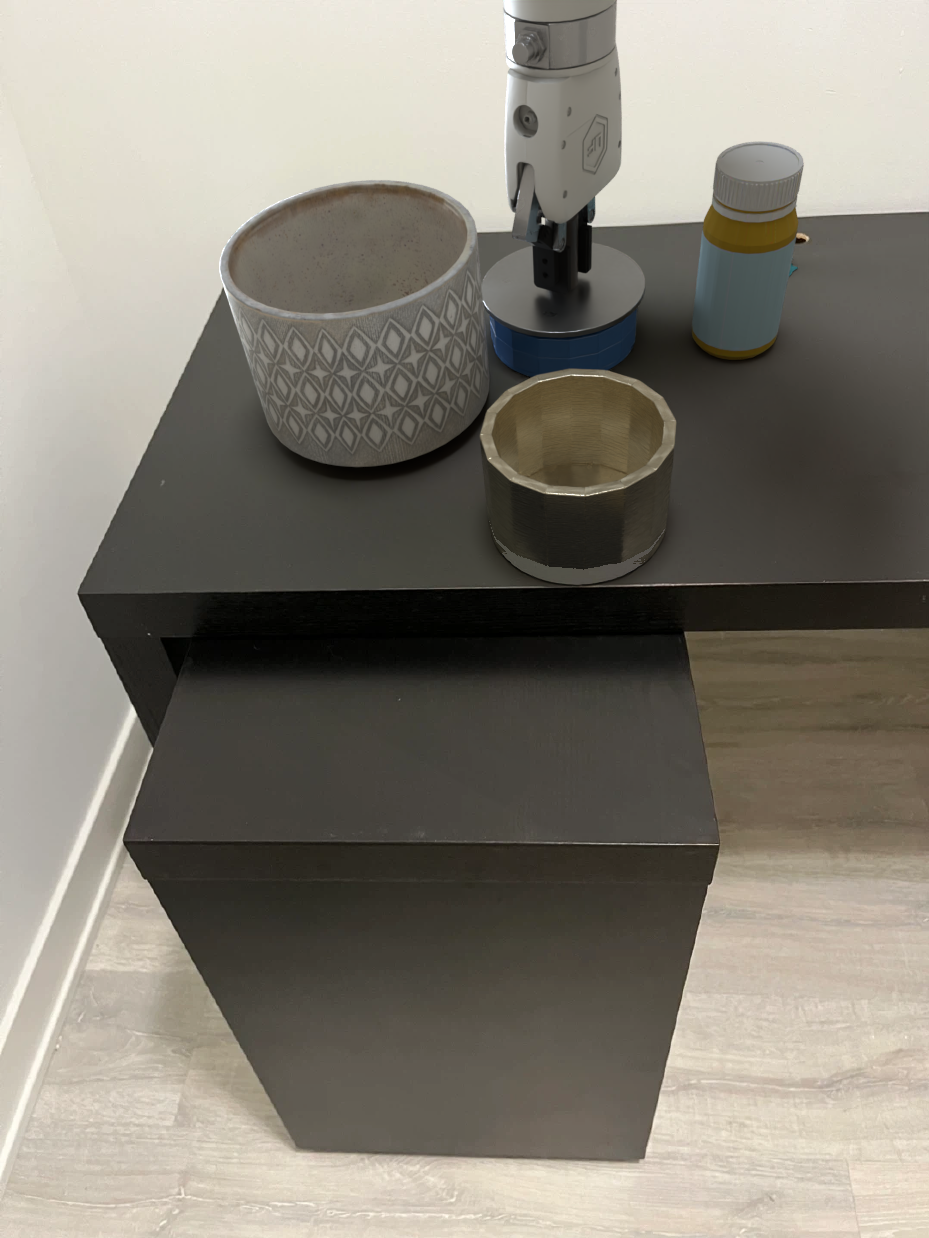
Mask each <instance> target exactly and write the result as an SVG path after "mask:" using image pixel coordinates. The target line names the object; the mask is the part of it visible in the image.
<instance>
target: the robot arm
mask: <svg viewBox="0 0 929 1238" xmlns="http://www.w3.org/2000/svg"><path fill="white" fill-rule="evenodd" d="M617 11H618V0H502V15H503V34H504V35H503V36H504V51H505V54H504V55H505V63H506V65H507V66H508V68H509V69H508V71H507V76H506V77H507V78H506V89H505V106H504V107H505V108H504V176H505V178H504V179H505V188H506V196H507V202H508V206H509V208H510V209H509V210H511V212H512V213H514V217H513V222H512V228H511V238H512V239H513V240H517V241H521V242H525V243H528V245H529V246H532V247H533V274H534V284H535V286H536V287H538V288H542V289H546V290H549V291H553V292H556V293H560V294H564V295H565V294H567V293H568V292H569V291H570V290H571V247H570V246H567V245H566V224H567V221H568V220H570V219H571V218H572V217H573V216H574V215H576V214H577V213H578V272H581V273H588V272H589V271H590V270H591V267H592V243H593V225H592V223H593V222H594V220H595V218H596V196H597V195H598V194H599V193H601V191H603V189H604V188H606V187H607V186H608V184H609V183H610V182H612V180H613V179H614V178H615V177H616V175H617V174H618V173H619V171H620V168H621V165H622V152H623V151H622V150H623V149H622V147H623V144H622V143H623V118H622V117H623V116H622V115H623V114H622V113H623V112H622V109H623V108H622V85H621V69H620V68H621V67H620V62H619V52H618V46H617V16H618V15H617V14H618V12H617ZM545 218H546V219H547V220H552V221H553V229H551V228H550V227H549V226H548V225H545V223H543V222H542V219H545Z"/></svg>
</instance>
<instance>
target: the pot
mask: <svg viewBox="0 0 929 1238" xmlns="http://www.w3.org/2000/svg"><path fill="white" fill-rule="evenodd" d="M677 424H678V423H677V420H676V418H675V416H674V414H673V412H672V410H671V408H670V406H669V405H668V403H667V401H666V400H665V397H663V396H662V395H661V394H659V393H658V392H656V391H655V390H654V389H652V388H651V387H649V386H648V385H647V384H646V383H644V382H643V381H641V380H639V379H637V378H634V377H631V376H627V375H624V374H620V373H617V372H614V371H610V370H594V369H565V370H560V371H555V372H550V373H545V374H540V375H536V376H534V377H530V378H527V379H525V380H524V381H522V382H519V383H518V384H516V385H514V386H511V387H510V388H508V389H506V390H504V392H503V393H502V394H500V396H499V397H498V398H497V399H496V400H495V401H494V403H492V404H491V405H490V406H489V407H488V408H487V410H486V412H485V415H484V419H483V422H482V426H481V430H480V433H479V444H480V453H481V463H482V471H483V473H482V474H483V483H484V493H485V502H486V503H485V505H486V512H487V521H488V526H489V528H490V533H491V538H492V540H493V542H494V545H495V547H496V548H497V550H498V551H499V553H500V554H501V553H503V552H506V551H505V550H504V549H503V548H502V547H501V546H500V545H499V544H498V543H497V542H496V540H495V538H494V536H495V537H496V539H497V540H499V541H500V542H501V543H502V544H503V545H504V546H506V547H507V548H508V549H509V550H510V551H511V552H513V553H515V554H516V555H517V556H518V555H519V556H520V557H521V556H522V557H523V558H527V559H530V560H532V561H535V562H537V563H540V564H543V565H545V566H547V565H548V566H549V567H562V568H573V569H574V568H576V569H583V570H584V569H588V568H594V567H600V566H603V565H608V564H617V563H621V562H624V561H626V560H627V559H630V558H632V557H634V556H635V555H637V554H639V553H641V552H644V551H645V550H647V549H649V548H650V547H651V546H652V545H653V544H654V542H655V541H656V540H657V539H658V537H659V536H660V535H661V533H662V532H663V530H664V529H665V528H666V529H665V531H664V533H663V534H662V535H661V537H660V538H659V540H658V541H657V542H656V544H655V545H654V547H653V548H652V550H651V551H650V552H649V553H648V554H646V555H644V556H643V557H641V558H639V559H641V561H638V560H637V561H634V562H642V563H638V564H643V565H644V564H645V563H646V562H648V561H649V560H650V559H651V558H652V557H653V556H654V554H655V553H656V552H657V551H658V549H659V547H660V545H661V544H662V542H663V540H664V536H665V535H666V533H667V532H666V531H667V524H668V523H667V522H668V511H669V503H670V493H671V484H672V474H673V465H674V455H675V446H676V445H675V444H676V433H677ZM488 518H489V519H488ZM489 521H490V522H489ZM490 524H491V525H490ZM491 527H492V529H491ZM492 530H493V532H492ZM493 533H494V535H493ZM504 554H507V553H504ZM648 558H649V559H648ZM644 559H645V560H644ZM644 561H645V562H644ZM633 564H636V563H633Z"/></svg>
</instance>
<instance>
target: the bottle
mask: <svg viewBox="0 0 929 1238" xmlns="http://www.w3.org/2000/svg"><path fill="white" fill-rule="evenodd" d="M804 163H805V162H804V158H803V156H802V154H801V153H800V152H799V151H798V150H796V149H794V148H793V147H790V146H789V145H786V144H782V143H778V142H772V141H747V142H742V143H737V144H735V145H731V146H729V147H727V148H726V149H724V150H723V151H721V152H720V153H719V155H718V156H717V159H716V161H715V166H714V175H713V183H712V197H711V204H710V206H709V208H708V210H707V212H706V214H705V216H704V218H703V225H702V230H701V240H700V248H699V258H698V266H697V274H696V276H697V277H696V285H695V294H694V302H693V311H692V312H693V313H692V322H691V335H692V336H691V337H692V338H693V340H694V341H695V343H696V344H697V345H698V347H700V349H701V350H702V351H704V352H705V353H707V354H708V355H710V356H713V357H715V358H718V359H722V360H730V361H740V360H741V361H742V360H747V359H752V358H754V357H756V356H759V355H760V354H762V353H764V352H765V351H767V350H768V349H770V347H772V345H774V343H775V342H776V339H777V336H778V332H779V330H780V323H781V319H782V313H783V309H784V302H785V299H786V294H787V293H786V292H787V287H788V283H789V277H790V276H789V272H790V267H791V263H792V261H793V259H792V258H793V256H794V251H795V245H796V241H797V235H798V228H799V218H798V214H797V207H795V206H796V204H797V202H798V194H799V192H800V188H801V181H802V177H803V171H804V166H805V164H804Z"/></svg>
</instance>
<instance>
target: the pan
mask: <svg viewBox="0 0 929 1238" xmlns="http://www.w3.org/2000/svg"><path fill="white" fill-rule="evenodd" d="M638 315H639V306H638V307H637V308H636V310H635V311H634V312H633V313H632V314H631V315H629V316H628V317H627V318H625V319H624V320H622V321H621V322H619V323H617V324H615V325H613V326H611V327H609V328H607V329H604V330H601V331H598V332H595V333H590V334H586V335H581V336H574V337H563V338H551V337H539V336H533V335H528V334H524V333H520V332H517V331H514V330H511V329H509V328H507V327H505V326H503V325H502V324H500V323H498V322H497V321H496V320H494V319H493V318H492V317H491V316H490V315H489V314H488V316H489V329H490V338H491V341H492V346H493V350H494V352H495V354H496V356H497V357H498V358H499V360H500V361H501V362H502V363H503V364H504V365H505V366H507V367H508V368H510V369H511V370H512V371H515V372H517V373H518V374H522V375H524V376H526V377H530V378H532V377H534V376H536V375H540V374H545V373H550V372H555V371H560V370H565V369H594V370H608V371H610V370H611V369H613V368H614V367H616V366H617V365H619V364H620V363H622V361H624V360H625V359H626V358H627V357H628V356H629V354H630V353H631V351H632V350H633V349H634V346H635V343H636V338H637V329H638V320H639V319H638Z"/></svg>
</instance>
